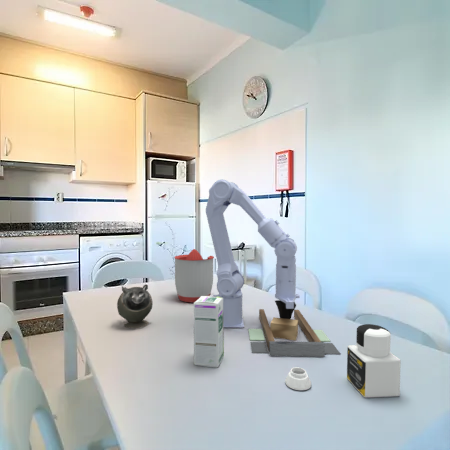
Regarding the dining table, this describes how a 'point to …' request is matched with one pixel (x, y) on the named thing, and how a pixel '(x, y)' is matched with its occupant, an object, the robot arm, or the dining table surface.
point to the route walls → (301, 322)
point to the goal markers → (259, 336)
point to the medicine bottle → (373, 363)
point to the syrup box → (208, 331)
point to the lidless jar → (298, 379)
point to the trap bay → (294, 348)
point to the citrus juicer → (193, 276)
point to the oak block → (284, 328)
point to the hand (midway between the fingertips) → (285, 325)
